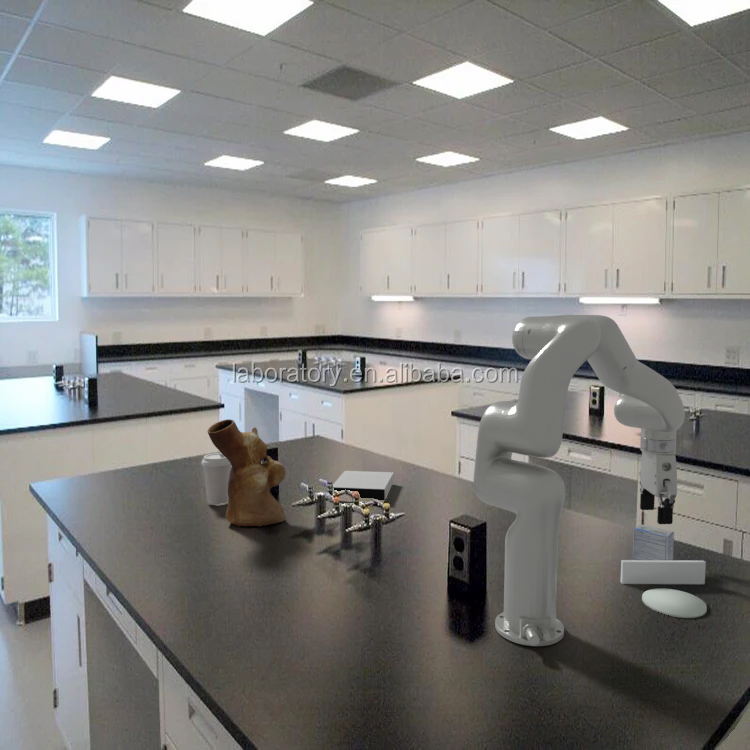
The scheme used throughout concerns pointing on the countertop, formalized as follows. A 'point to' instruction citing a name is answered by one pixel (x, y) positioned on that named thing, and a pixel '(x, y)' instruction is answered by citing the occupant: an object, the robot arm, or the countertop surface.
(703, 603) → the pad
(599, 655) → the countertop surface
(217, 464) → the coffee cup
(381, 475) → the disc drive
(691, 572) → the acrylic wall
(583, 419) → the countertop surface
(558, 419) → the robot arm
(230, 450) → the ceramic vessel
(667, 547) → the medicine box
